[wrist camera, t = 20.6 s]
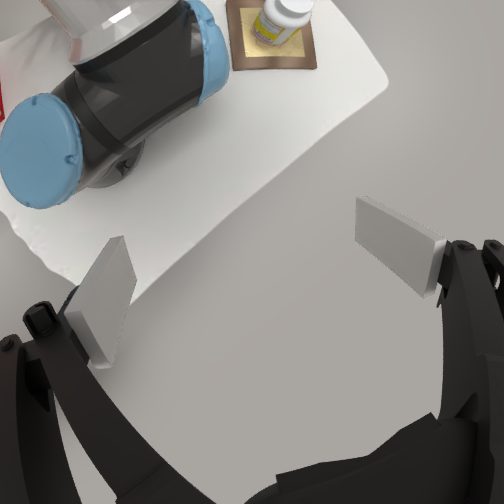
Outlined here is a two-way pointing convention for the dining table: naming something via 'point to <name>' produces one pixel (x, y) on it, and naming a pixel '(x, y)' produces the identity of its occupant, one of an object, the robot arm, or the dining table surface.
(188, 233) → the dining table surface
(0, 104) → the food packaging
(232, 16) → the walnut plinth
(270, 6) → the supplement bottle
